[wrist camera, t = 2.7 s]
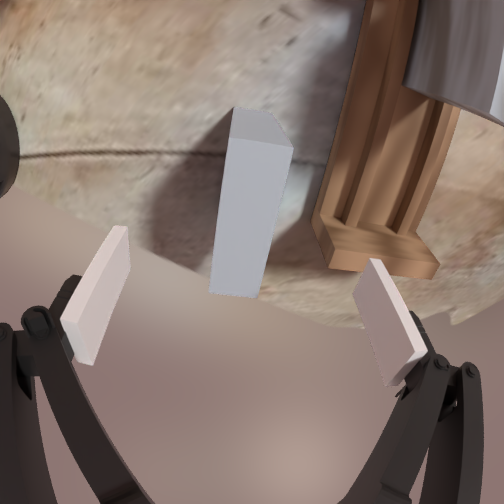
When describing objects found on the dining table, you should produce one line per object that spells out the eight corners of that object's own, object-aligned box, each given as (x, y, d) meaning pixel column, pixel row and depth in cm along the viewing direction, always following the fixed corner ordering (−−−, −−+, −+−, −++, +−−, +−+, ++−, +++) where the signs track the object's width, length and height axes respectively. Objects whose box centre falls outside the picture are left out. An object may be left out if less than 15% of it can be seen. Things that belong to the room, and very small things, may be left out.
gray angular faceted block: (218, 212, 31) (208, 292, 21) (233, 106, 25) (229, 137, 15) (251, 216, 32) (257, 298, 22) (272, 112, 25) (293, 147, 16)
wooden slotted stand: (310, 221, 32) (346, 320, 21) (374, -45, 15) (458, -89, 4) (401, 237, 34) (457, 321, 22) (469, 6, 17) (566, 12, 5)
